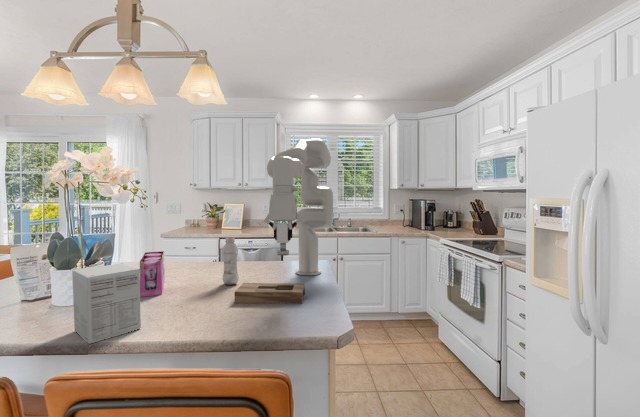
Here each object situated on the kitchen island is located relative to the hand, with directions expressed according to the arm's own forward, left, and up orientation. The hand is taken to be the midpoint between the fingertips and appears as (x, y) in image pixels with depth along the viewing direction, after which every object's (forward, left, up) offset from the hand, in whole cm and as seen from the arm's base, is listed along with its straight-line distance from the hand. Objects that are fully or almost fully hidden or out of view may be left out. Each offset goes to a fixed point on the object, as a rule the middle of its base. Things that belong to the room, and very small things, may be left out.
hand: (283, 239), depth 125 cm
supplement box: (+32, -45, -22) cm, 60 cm away
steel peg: (0, 0, -6) cm, 6 cm away
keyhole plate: (+1, -4, -22) cm, 22 cm away
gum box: (-11, -55, -22) cm, 61 cm away
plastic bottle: (-18, -25, -22) cm, 38 cm away
